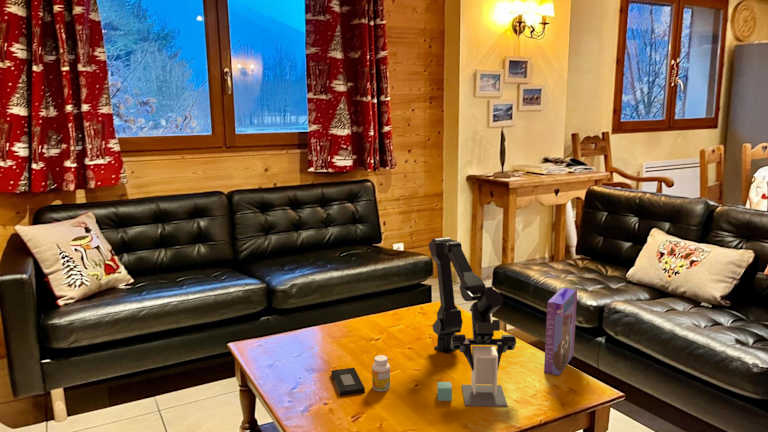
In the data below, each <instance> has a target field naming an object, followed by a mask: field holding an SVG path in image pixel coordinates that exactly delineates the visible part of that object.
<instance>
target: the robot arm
mask: <svg viewBox="0 0 768 432" xmlns="http://www.w3.org/2000/svg"><path fill="white" fill-rule="evenodd" d="M462 247H463V245H462V244H461V242H460V241H458V240H456V239H452V237H449V236H448V237H447V236H446V237H445V236H444V237H436V238H432V239H431V240H430V242H429V243H428V250H429V252H430V255H431V258H432V260H433V261H434V263H436V264H435V265H436V271H437V272H436V273H437V281H438V290H439V292H438V293H439V301H440V305H439V308H438V311H437V312H436V320H435V322H434V323H433V324H432V331H433V332H434V334H436V335H437V339H436V341H437V342H436V343H437V344H436V346H433V349H434V350H437V351H440V352H442V353H446V354H450V353H452V352H454V351H456V350H458V351H459V352H460V353H463V355H464V357H465V359H466V360H467V362H468V364H469V367H470V369H471V372H472V371H474V364H473V358H472V346H496V348H495V349H496V352H497V354H498V368H499V367H500V362H501V358H502V355H503V353H504V354H505V353H506V352H507V351H514V350H515V347H516V345H517V339H516V336H515V335H514V334H501V337H500V338H494V335H495V334H494V332H500V331H501V324H500V319H492V318H491V316H492V315H491V314H494V313H495V312H496V310H498V309H499V308H500V307H501V306H502V304H503V302H504V298H503V295H502V294H501V292H500V291H498V290H496V289H494V287H493V286H492V285H490V286H487V285H486V284H485V283H484V280H482V278H481V277H479V276H478V275H477V274H475V272H474V271H473V269H472V267H471V264H470V263H469V261H468V259H467V257H466V255H465V252H464V250H463V248H462ZM452 266H453V268H454V271H455V272H456V275H457V277H458V278H459V283H460V284H459V291H460V295H461V298H462V299H463V300H464V301H465V302H467V303H468V302H473V303H472V304H471V305H470V308H469V312H471V324H472V325H471V327H472V338H467V337H466V334H462V333H461V332H462V326H463V323H464V322H463V318H462V311H461V309H459V308H458V307H457V305H456V304H455V296H454V295H455V294H454V283H453V273H452ZM458 333H460V334H458Z"/></svg>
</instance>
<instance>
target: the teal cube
mask: <svg viewBox="0 0 768 432" xmlns="http://www.w3.org/2000/svg"><path fill="white" fill-rule="evenodd" d="M436 390H437V393H436V394H437V401H439V402H443V401H444V402H452V401H453V385H452V381H437V389H436Z"/></svg>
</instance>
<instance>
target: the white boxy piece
mask: <svg viewBox="0 0 768 432" xmlns="http://www.w3.org/2000/svg"><path fill="white" fill-rule="evenodd" d="M496 349H497V348H496V345H471V352H472V358H473V364H474V371H472V370H471V379H470V380H471V383H470V385H472V389H473V393H474V394H476V385H492V386H493V390H494V393H495V395H497V385H498V371H499V367H498V354H497V352H496Z"/></svg>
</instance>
